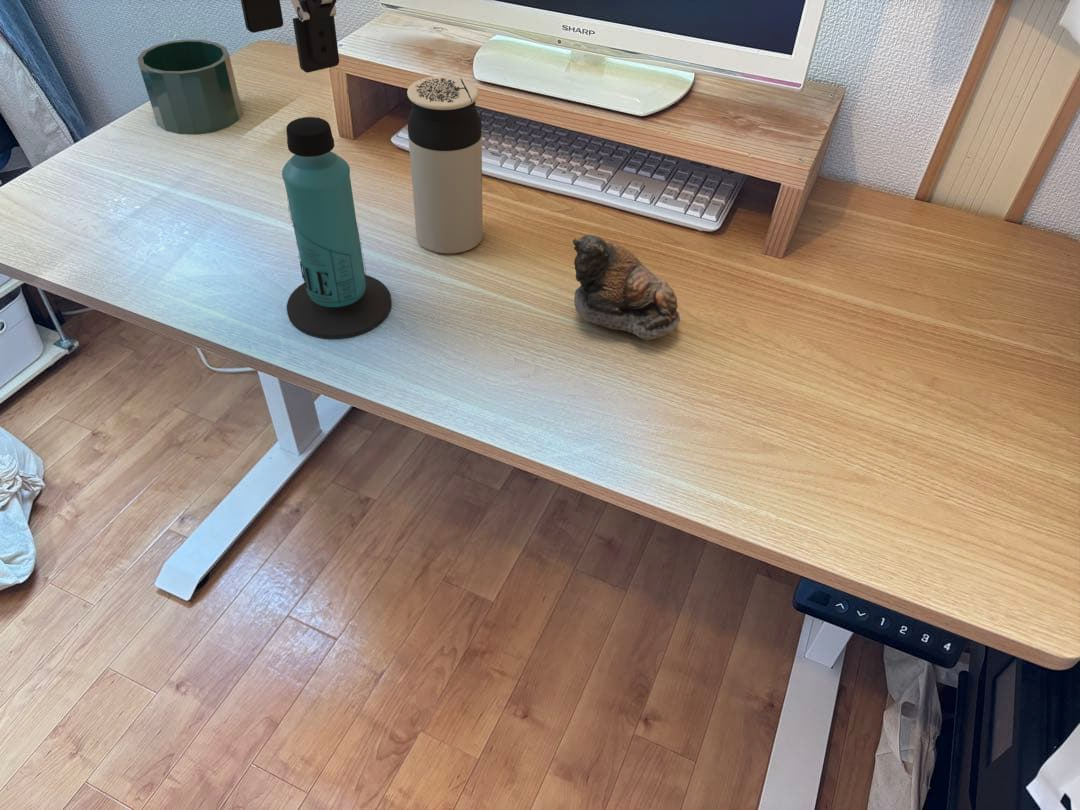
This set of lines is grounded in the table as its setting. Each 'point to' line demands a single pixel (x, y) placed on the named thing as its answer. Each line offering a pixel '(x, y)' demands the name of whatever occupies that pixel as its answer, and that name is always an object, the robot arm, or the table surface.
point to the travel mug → (446, 163)
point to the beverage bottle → (323, 215)
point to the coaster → (340, 312)
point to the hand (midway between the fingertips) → (291, 47)
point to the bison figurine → (621, 290)
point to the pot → (190, 86)
